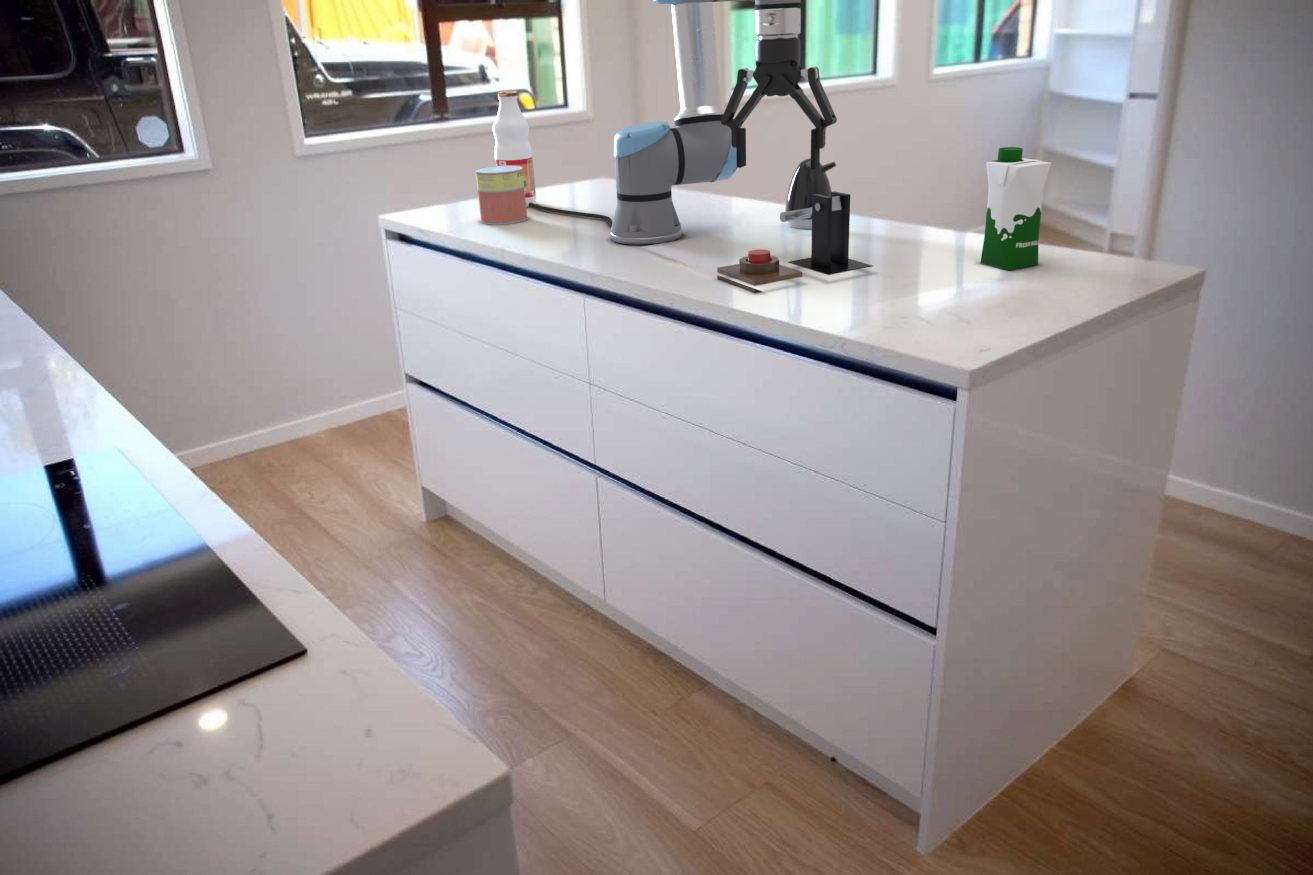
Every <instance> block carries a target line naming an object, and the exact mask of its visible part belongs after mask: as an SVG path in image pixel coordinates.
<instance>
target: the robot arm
mask: <svg viewBox="0 0 1313 875" xmlns="http://www.w3.org/2000/svg"><path fill="white" fill-rule="evenodd" d="M653 2H654V3H656V4H659V5H670V7H671V18H672V30H673V42H674V51H675V62H676V63H675V64H676V73H677V84H678V86H677V87H678V95H679V96H678V97H679V107H680V110H679V112H678V113H677V115H676V116H675V117H674V121H673V122H674V127H671V126H670V124H669V123H668V122H667V121H663V120H662V121H661V120H659V121H658V120H657V121H652V122H644V123H639V124H638V123H637V124H634V125H631V126H627V127H624V128H621V129H619V131H617V132H616V134H615V135H614V138H613V153H612V154H613V158H614V172H615V189H616V206H615V210H614V214H613V219H612V218H611V217H610V216H608V215H604V214H600V213H599V214H598V213H590V212H582V211H573V210H567V209H562V208H555V207H549V206H544V205H540V204H537V203H536V204H534V203H531V202H530V203H529V206H530V207H531V208H533V209H536V210H541V211H544V212H549V213H555V214H562V215H566V216H567V215H568V216H574V217H575V216H576V217H583V218H592V219H599V220H603V221H606V222H607V223H608V225H609V226H610V240H611V241H612V242H614V243H618V244H622V245H638V246H641V245H642V246H644V245H645V246H646V245H658V244H663V243H669V242H673V241H676V240H679V239H680V238H681V237H682V236H683V235H682V234H683V233H682V225H681V222H680V218H679V216H678V214H677V210H676V208H675V205H674V203H673V199H672V198H673V196H672V187H673V186H681V185H691V184H692V185H693V184H702V183H716V182H718V181H719V182H720V181H726V180H729V179H731V178H732V177H733V176H734V175H735V174H736V172H737V169H740V168H744V167H746V166H747V128H746V127H743V125H744V124H745V122H746V121H747V119H748V118H749V116H750V115H751V114H752V113H753V111H754V110H755V109H756V107H757V106H758V105H759V103H760V102H761V100H762V99H763V98H764V97H765V96H767V97H774V96H778V97H787V96H790V97H791V98H792V99H793V100H794V101H795V103H796V104H797V105H798V106H799V108H800V109H801V110H802V111H803V113H804V114H805V115H806V117H807V118H808V119H809V121H810V122H811V123H812V124H813V127H814V128H813V129H811V130H810V158H811V169H817V168H819V167H820V163H821V161H820V160H821V158H820V157H821V149H824V148H825V147H826V132H827V130H826V129H827V128H828V127H830V126H832V125H834V124H836V123H837V121H838V118H837V116H836V113H835V111H834V110H833V107H832V105H831V102H830V100H829V98H828V96H827V93H826V90H825V89H824V86H823V84H822V82H821V79H820V78H821V77H820V69H819V67H818V66H812V67H811V66H810V67H809V68H804V69H802V67H801V66H802V65H801V39H800V38H799V37H798V35H800V34H801V33H802V32H801V30H802V28H801V26H802V25H801V24H802V22H801V20H802V18H801V14H802V13H801V11H802V10H801V8H802V7H801V0H653ZM720 2H722V3H723V2H754V13H755V14H754V27H755V28H754V30H755V31H754V32H755V35H756V36H757V37H758V39H756V41H755V43H754V44H755V45H754V50H755V53H754V54H755V55H754V56H755V66H754V69H748V67H745V68H739V69H738V70H737V73H736V74H737V76H736V84H735V86H734V88H733V91H732V93H731V95H730V98H729V100H728V103H727V105H726V107H725V108H724V107H723V106H722V100H721V89H720V88H721V87H720V76H719V74H720V73H719V61H718V52H717V50H718V48H717V39H716V37H717V36H716V24H715V13H714V3H720ZM802 77H803V78H804V81H805V82H807V83H808V86H809V88H810V91H811V92H812V95H813V98H814V99H815V101H816V104H817V106H818V108H819V111H820V112H819V111H818V110H817V108H816V107H815V106H814V105H813V102H811V101H810V99H809V97H808V96H807V95H806V94H805V92H804V89H803V88H802V87H801V86H800V85H799V82H800V80H801V79H802ZM752 79H754V81H755V82H756V84H757V86H756V88H755V89H754V90H753V91H752V94H751V95H750V97H749V98H748V100H747V101H746V102H745V104H744V105H743V106H742V108H741V109H740V110H739V112H738V113H737V111H738V109H739V107H740V103H741V101H742V99H743V97H744V94H745V92H746V90H747V87H748V84H749V83H751V81H752ZM736 113H737V114H736ZM530 207H529V208H530Z"/></svg>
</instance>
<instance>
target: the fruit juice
mask: <svg viewBox="0 0 1313 875" xmlns="http://www.w3.org/2000/svg"><path fill="white" fill-rule="evenodd" d="M518 97H519V94H518V91H517V90H502V91H497V98H498V100H499V106H498V111H497V115H496V118H495V120H494V122H493V124H492V133H493V136H494V139H495V146H494V160H495V166H521V167H523V178H524V189H525V199H526V208H530V206H529V203H530V202H531V203H534V204H537V192H536V190H537V189H536V180H535V171H534V170H535V169H534V160H533V159H534V158H533V149H532V145H531V143H530V140H529V136H530V125H529V122H528V120H527V119H526V118H525V116H524V115H523V113H522V111H521V108H520V106H519V103H518Z"/></svg>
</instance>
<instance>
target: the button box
mask: <svg viewBox="0 0 1313 875" xmlns="http://www.w3.org/2000/svg"><path fill="white" fill-rule="evenodd" d="M738 262H739V263H735V264H730V265H724V266H719V267H716V272H717V273H718V274H717V275H716V276H717V278H716V279H717V280H718V281H720V282H723V283H726V284H728V285H731V286H734V287H737V288H740V289H742V290H744V291H747V292H750V293H752V294H758V293H763V291H762V290H760V289H757V288H753V287H751V286H755V287H756V286H761V285H766V284H772V283H777V282H781V281H787V280H791V279H796V278H802V277H803V271H801V270H798V269H794V268H792V267H789V266H785V265H783V264H780V259H779V257H778V256H774V255H771V261H769V262H764V263H753V262H748V255H747V256H742V257H741V258H739V259H738ZM719 274H721V275H723V276H721V275H719ZM724 276H726V277H727V278H726V277H724ZM728 277H729V278H732V279H729V278H728ZM733 279H735V280H738V281H740V282H741V283H740V282H738V281H735V280H733ZM743 283H745V284H743ZM747 284H749V285H751V286H749V285H747Z"/></svg>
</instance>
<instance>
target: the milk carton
mask: <svg viewBox="0 0 1313 875" xmlns="http://www.w3.org/2000/svg"><path fill="white" fill-rule="evenodd" d="M1023 149H1024V148H1023V147H1017V146H1016V147H1015V146H1008V147H1007V146H1004V147H999V148H998V153H997V159H996V160H991V161H986V163H985V164H986V165H985V166H986V174H987V184H988V191H987V203H986V204H987V206H986V215H985V226H984V229H985V230H984V236H983V244H982V250H981V255H980V256H981V257H980V262H979V263H980V264H983V265H986V266H990V267H995V268H998V269H1002V270H1006V271H1014V270H1018V269H1024V268H1029V267H1033V266H1038V265H1039V240H1040V239H1039V238H1040V229H1041V228H1040V227H1041V218H1042V208H1043V200H1044V191H1045V186H1046V182H1047V179H1048V176H1049V174H1050V170H1051V166H1052V162H1051V161H1043V160H1041V159H1032V158H1031V159H1030V158H1023V152H1024V150H1023Z"/></svg>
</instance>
